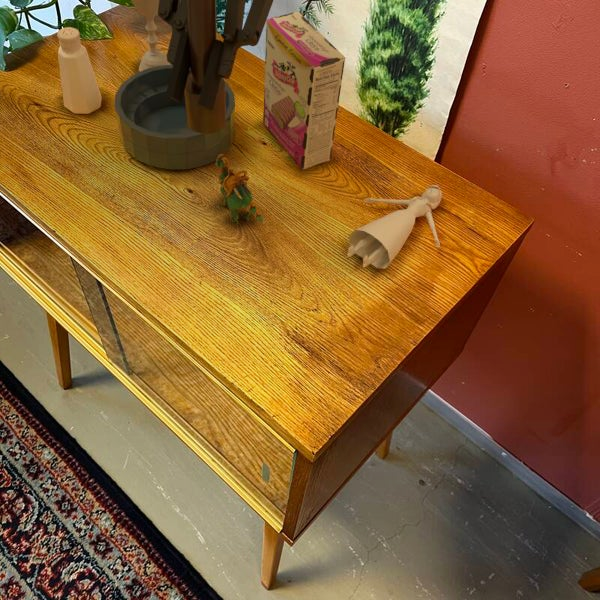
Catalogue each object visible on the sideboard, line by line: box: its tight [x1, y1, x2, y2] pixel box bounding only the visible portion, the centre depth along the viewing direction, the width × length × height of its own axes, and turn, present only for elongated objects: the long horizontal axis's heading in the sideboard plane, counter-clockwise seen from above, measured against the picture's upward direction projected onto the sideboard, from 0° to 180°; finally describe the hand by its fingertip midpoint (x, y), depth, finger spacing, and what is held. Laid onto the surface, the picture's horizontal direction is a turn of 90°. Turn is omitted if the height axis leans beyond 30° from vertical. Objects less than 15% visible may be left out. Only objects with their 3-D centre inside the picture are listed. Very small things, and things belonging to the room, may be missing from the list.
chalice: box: [130, 0, 172, 72], centre depth 94 cm, size 7×7×18 cm
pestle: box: [184, 0, 226, 134], centre depth 69 cm, size 4×4×15 cm
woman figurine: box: [347, 184, 443, 270], centre depth 83 cm, size 12×4×18 cm
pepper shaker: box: [56, 26, 103, 115], centre depth 91 cm, size 5×5×11 cm
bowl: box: [113, 64, 236, 171], centre depth 90 cm, size 16×16×6 cm
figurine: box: [214, 154, 265, 225], centre depth 81 cm, size 3×12×8 cm, turn 31°
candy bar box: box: [262, 10, 346, 171], centre depth 87 cm, size 11×5×16 cm, turn 32°
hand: (189, 102), depth 68 cm, fingers closed on pestle, 3 cm apart
